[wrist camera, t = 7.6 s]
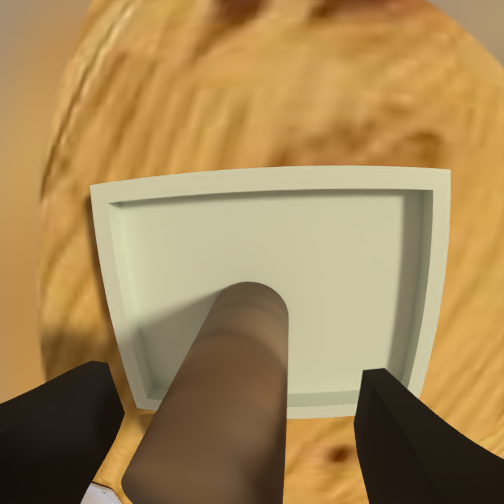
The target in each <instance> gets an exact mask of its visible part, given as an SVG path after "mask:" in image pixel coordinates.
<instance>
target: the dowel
mask: <svg viewBox="0 0 504 504" xmlns="http://www.w3.org/2000/svg"><path fill="white" fill-rule="evenodd" d="M288 337H289V315H288V309H287V306H286V304H285V302H284V300H283V299H282V297H281V296H280V295H279V294H278V293H277V292H276V291H275V290H273V289H272V288H270V287H269V286H267V285H264V284H261V283H258V282H240V283H236V284H233V285H231V286H229V287H227V288H226V289H225V290H223V291H222V292H221V293H220V295H219V296H218V297H217V299H216V301H215V303H214V304H213V306H212V308H211V310H210V312H209V314H208V316H207V317H206V319H205V321H204V323H203V325H202V327H201V329H200V331H199V332H198V334H197V336H196V338H195V340H194V342H193V344H192V346H191V347H190V349H189V351H188V353H187V355H186V357H185V359H184V361H183V363H182V364H181V366H180V368H179V370H178V372H177V374H176V376H175V378H174V380H173V381H172V383H171V385H170V387H169V389H168V391H167V393H166V395H165V397H164V398H163V400H162V402H161V404H160V406H159V408H158V410H157V412H156V414H155V416H154V417H153V419H152V421H151V423H150V425H149V427H148V429H147V431H146V433H145V435H144V437H143V439H142V440H141V442H140V444H139V446H138V448H137V450H136V452H135V454H134V456H133V458H132V460H131V462H130V464H129V465H128V467H127V469H126V471H125V473H124V475H123V477H122V481H121V485H122V489H123V491H124V493H125V495H126V496H127V497H128V499H129V500H130V501H131V502H132V503H133V504H283V488H284V469H285V448H286V424H287V392H288Z"/></svg>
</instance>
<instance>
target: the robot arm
mask: <svg viewBox="0 0 504 504" xmlns="http://www.w3.org/2000/svg"><path fill="white" fill-rule="evenodd" d="M124 415H125V412H124V410H123V407H122V404H121V402H120V399H119V396H118V393H117V390H116V387H115V384H114V381H113V378H112V375H111V372H110V369H109V366H108V363H103V362H97V361H90V362H87V363H85V364H82V365H80V366H78V367H76V368H74V369H72V370H70V371H68V372H66V373H64V374H62V375H60V376H58V377H56V378H54V379H52V380H50V381H48V382H46V383H44V384H42V385H41V386H39V387H37V388H35V389H33V390H30V391H28V392H26V393H24V394H22V395H19V396H17V397H15V398H13V399H11V400H9V401H6V402H4V403H1V404H0V504H122V503H121V501H120V500H119V499H118V497H117V496H116V494H115V493H114V491H113V490H111V489H109V488H106V487H103V486H100V485H97V484H94V483H91V482H92V480H93V478H94V477H95V475H96V473H97V471H98V470H99V468H100V466H101V464H102V462H103V461H104V459H105V457H106V455H107V454H108V452H109V450H110V448H111V446H112V444H113V443H114V441H115V439H116V436H117V434H118V431H119V429H120V426H121V423H122V420H123V417H124ZM354 431H355V440H356V447H357V455H358V459H359V463H360V467H361V471H362V475H363V479H364V483H365V487H366V491H367V496H368V500H369V504H504V459H502V458H500V457H498V456H496V455H495V454H493V453H491V452H489V451H488V450H486V449H484V448H483V447H481V446H479V445H478V444H476V443H474V442H473V441H471V440H470V439H468V438H467V437H465V436H464V435H463V434H461V433H460V432H459V431H457V430H456V429H454V428H453V427H452V426H450V425H449V424H448V423H446V422H445V421H444V420H443V419H441V418H440V417H439V416H438V415H436V414H435V413H434V412H433V411H432V410H430V409H429V408H428V407H427V406H426V405H425V404H424V403H422V402H421V401H420V400H419V399H418V398H417V397H416V396H415V395H413V394H412V393H411V392H410V391H409V390H408V389H407V388H406V387H405V386H404V385H403V384H402V383H400V382H399V381H398V380H397V379H396V378H395V377H394V376H393V375H392V374H391V373H390V372H389V371H388V370H386V369H385V368H378V369H368V370H363V372H362V379H361V385H360V391H359V397H358V403H357V409H356V414H355V419H354Z"/></svg>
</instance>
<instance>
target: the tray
mask: <svg viewBox="0 0 504 504" xmlns="http://www.w3.org/2000/svg"><path fill="white" fill-rule="evenodd" d="M450 186H451V183H450V170H448V169H434V168H416V167H391V166H292V167H266V168H247V169H231V170H217V171H205V172H193V173H183V174H173V175H163V176H154V177H146V178H138V179H130V180H123V181H115V182H109V183H102V184H95V185H90V190H91V201H92V210H93V219H94V227H95V234H96V241H97V248H98V254H99V260H100V266H101V272H102V277H103V283H104V288H105V293H106V298H107V302H108V307H109V311H110V316H111V320H112V324H113V329H114V333H115V337H116V340H117V344H118V348H119V352H120V355H121V359H122V362H123V366H124V369H125V373H126V376H127V379H128V383H129V386H130V389H131V392H132V395H133V398H134V401H135V404H136V407H137V408H139V409H146V410H153V411H157V410H158V408H159V406H160V404H161V402H162V400H163V398H164V397H165V395H166V393H167V391H168V389H169V387H170V385H171V383H172V381H173V380H174V378H175V376H176V374H177V372H178V370H179V368H180V366H181V364H182V363H183V361H184V359H185V357H186V355H187V353H188V351H189V349H190V347H191V346H192V344H193V342H194V340H195V338H196V336H197V334H198V332H199V331H200V329H201V327H202V325H203V323H204V321H205V319H206V317H207V316H208V314H209V312H210V310H211V308H212V306H213V304H214V303H215V301H216V299H217V297H218V296H219V295H220V293H221V292H222V291H223V290H225V289H226V288H227V287H229V286H231V285H233V284H236V283H240V282H258V283H261V284H264V285H267V286H269V287H270V288H272V289H273V290H275V291H276V292H277V293H278V294H279V295H280V296H281V297H282V299H283V300H284V302H285V304H286V306H287V309H288V315H289V337H288V392H287V419H308V418H327V417H341V416H353V415H355V414H356V409H357V403H358V397H359V391H360V385H361V379H362V372H363V370H368V369H378V368H385V369H386V370H388V371H389V372H390V373H391V374H392V375H393V376H394V377H395V378H396V379H397V380H398V381H399V382H400V383H402V384H403V385H404V386H405V387H406V388H407V389H408V390H409V391H410V392H411V393H412V394H413V395H415V396H416V397H417V398H418V399H419V397H420V394H421V390H422V387H423V383H424V380H425V376H426V372H427V368H428V364H429V360H430V356H431V352H432V347H433V343H434V338H435V333H436V328H437V323H438V318H439V312H440V306H441V300H442V293H443V286H444V279H445V270H446V261H447V251H448V239H449V223H450Z"/></svg>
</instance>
